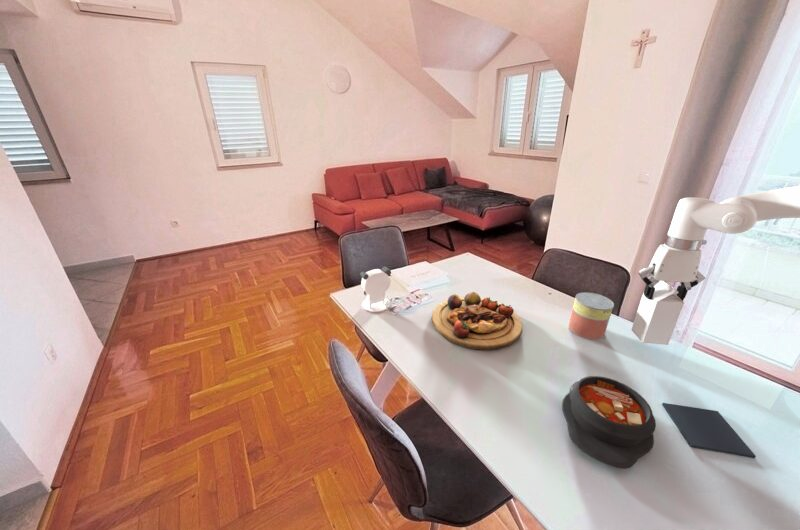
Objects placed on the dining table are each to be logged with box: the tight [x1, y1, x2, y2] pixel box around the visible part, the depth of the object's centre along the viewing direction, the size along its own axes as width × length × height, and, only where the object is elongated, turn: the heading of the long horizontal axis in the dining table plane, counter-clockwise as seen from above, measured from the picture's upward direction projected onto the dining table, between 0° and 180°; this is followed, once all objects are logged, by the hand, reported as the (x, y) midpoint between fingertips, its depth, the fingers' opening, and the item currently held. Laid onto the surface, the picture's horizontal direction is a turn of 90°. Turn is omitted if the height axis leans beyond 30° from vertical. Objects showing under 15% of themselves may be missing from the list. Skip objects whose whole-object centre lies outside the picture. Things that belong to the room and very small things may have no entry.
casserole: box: [561, 375, 657, 470], centre depth 73 cm, size 25×19×8 cm
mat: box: [662, 402, 757, 459], centre depth 74 cm, size 12×12×1 cm
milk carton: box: [631, 281, 685, 346], centre depth 96 cm, size 7×7×19 cm
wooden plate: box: [431, 291, 523, 350], centre depth 112 cm, size 32×32×8 cm
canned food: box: [567, 291, 615, 341], centre depth 107 cm, size 11×11×12 cm
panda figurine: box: [359, 266, 392, 313], centre depth 123 cm, size 12×11×15 cm
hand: (662, 298), depth 94 cm, fingers closed on milk carton, 7 cm apart
